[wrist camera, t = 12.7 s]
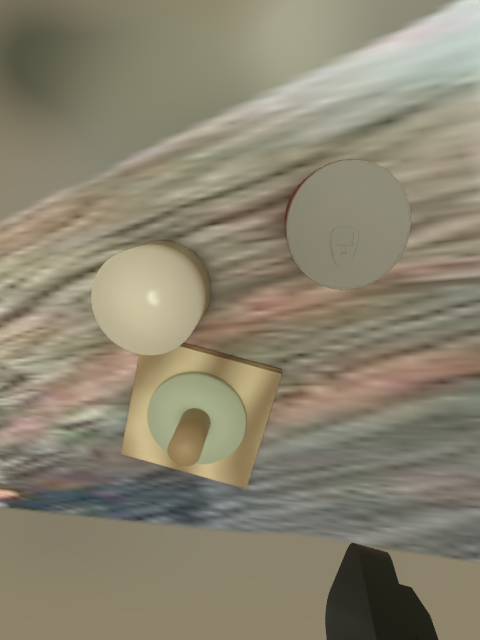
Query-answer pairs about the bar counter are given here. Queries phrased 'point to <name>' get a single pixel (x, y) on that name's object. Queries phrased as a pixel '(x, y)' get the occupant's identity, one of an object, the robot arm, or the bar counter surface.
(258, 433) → the mat
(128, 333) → the crock
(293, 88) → the bar counter surface
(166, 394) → the lid
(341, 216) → the canned food
